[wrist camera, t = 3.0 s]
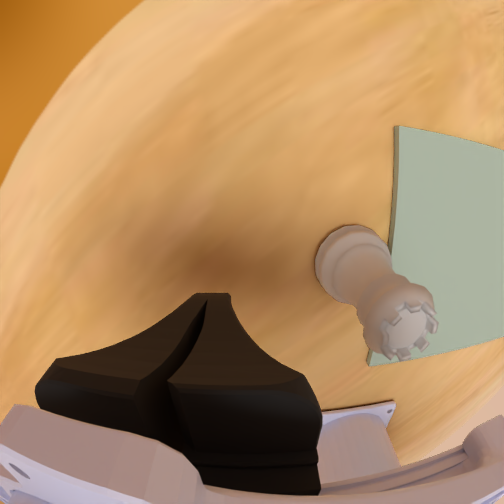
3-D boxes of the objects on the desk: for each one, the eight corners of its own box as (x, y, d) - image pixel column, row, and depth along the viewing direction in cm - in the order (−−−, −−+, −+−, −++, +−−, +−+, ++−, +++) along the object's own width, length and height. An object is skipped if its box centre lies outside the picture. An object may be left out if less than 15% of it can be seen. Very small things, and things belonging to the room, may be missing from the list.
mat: (509, 330, 19) (513, 333, 19) (366, 361, 19) (368, 366, 19) (543, 165, 14) (547, 166, 14) (394, 126, 14) (398, 125, 14)
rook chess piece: (389, 227, 16) (472, 280, 9) (373, 295, 18) (433, 374, 10) (319, 218, 16) (374, 274, 8) (307, 291, 17) (341, 383, 10)
